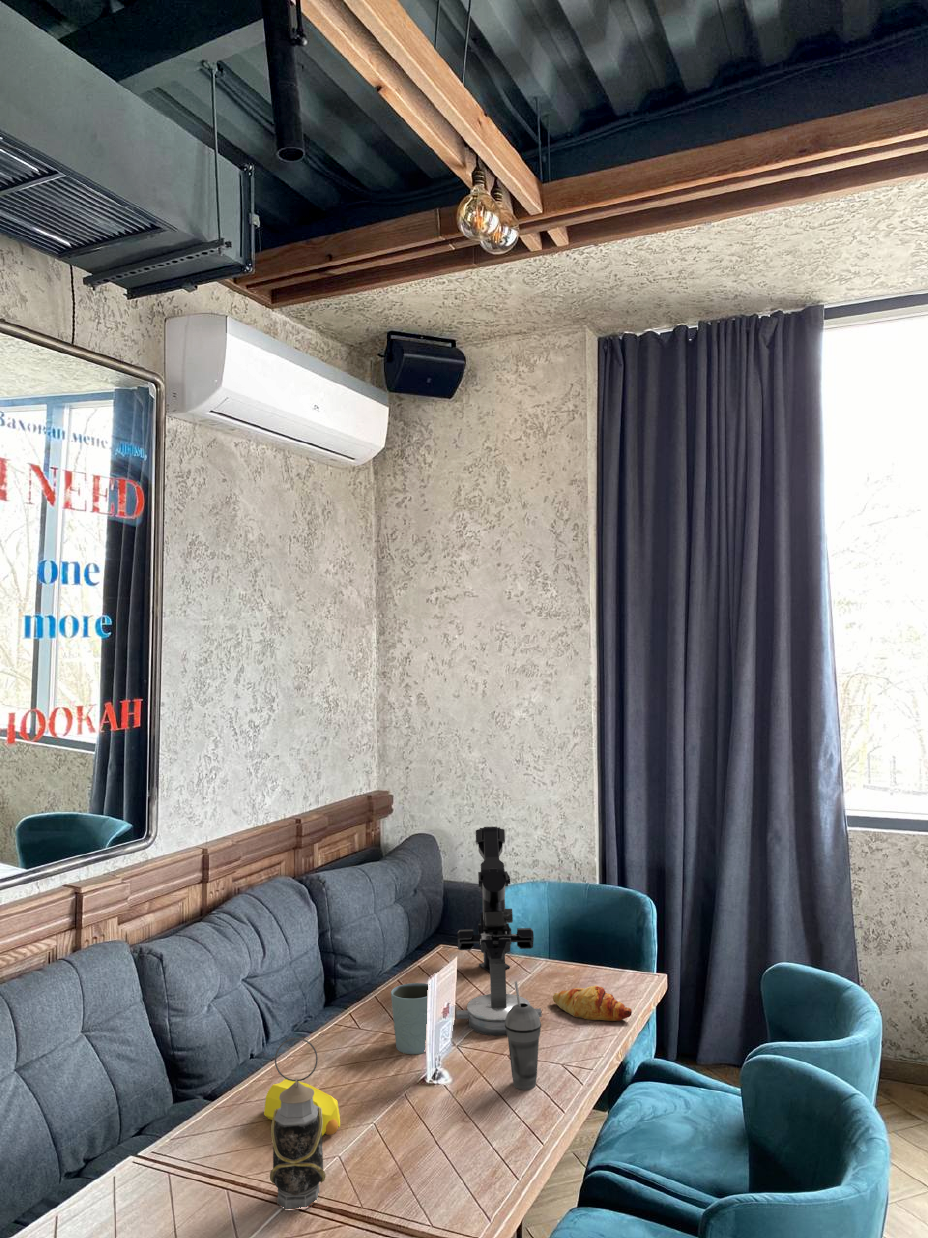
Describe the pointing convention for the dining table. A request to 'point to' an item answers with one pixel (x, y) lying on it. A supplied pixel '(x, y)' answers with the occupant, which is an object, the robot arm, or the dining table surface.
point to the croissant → (591, 1004)
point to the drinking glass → (410, 1017)
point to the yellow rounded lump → (319, 1099)
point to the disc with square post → (494, 996)
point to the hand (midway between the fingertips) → (496, 972)
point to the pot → (486, 1024)
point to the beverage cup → (523, 1043)
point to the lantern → (297, 1144)
